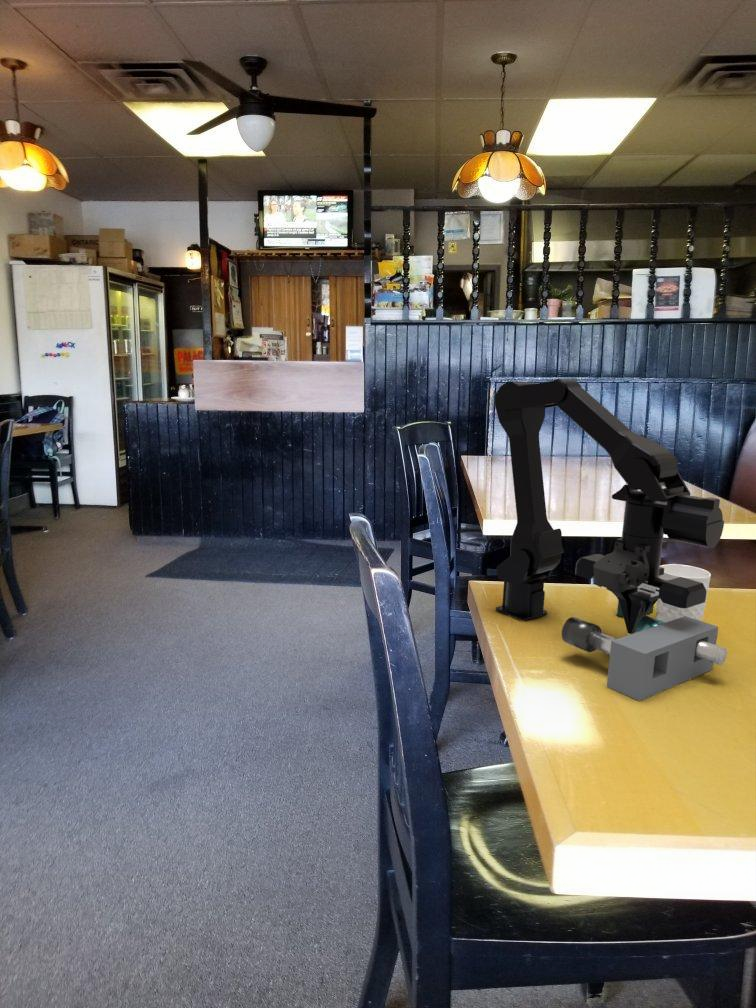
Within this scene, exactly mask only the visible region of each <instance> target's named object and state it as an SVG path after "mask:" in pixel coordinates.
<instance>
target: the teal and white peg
mask: <svg viewBox="0 0 756 1008" xmlns="http://www.w3.org/2000/svg"><path fill="white" fill-rule="evenodd" d="M663 623H666V622H664V621H661V620H658V619H656V617H652V616H649V615H646V616H644V617H643V618H642V619H641V620H640V621H639V623H638V625H637V628H636V632H635V633H637V632H640V631H643V630H646V629H648V628H651V627H654V626H657V625H660V624H663ZM727 655H728V651H727V648H725V647H722V646H719V645H717V644H716V645H714V644H711V643H708V642H706V641H703V640H697V641H696V648H695V656H696V657H699V658H702V659H704V660H707V661H710V662H713V664H716V665H718V666H721V665H723V664H724V663H725V661H726V660H727V659H726V658H727Z"/></svg>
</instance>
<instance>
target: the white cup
mask: <svg viewBox="0 0 756 1008" xmlns="http://www.w3.org/2000/svg"><path fill="white" fill-rule="evenodd" d="M660 567H662V568H664V575H660V576H659V577H658V578H660V579H663V580H667V581H668V580H671V579H675V578H679V577H683V578H686V579H690V580H694V581H697V582H701V583H703V585H704V587H705V589H706V591H707V593H706V600H705V602H704V603H701V604H698V605H695V606H692V607H689V608H678V607H675V606H672V605H669V604H666V603H663V602H662V600H661V599H658V600H657V602H656V603H655V605H656V606H655V607H656V614H655V615H656V616H655V619H658V620H661V621H664V622H669V621H672V620H675V619H678V618H681V617H684V616H687V617H690V618H693V619H696V620H699V621H702V620H703V616H704V613H705V607H706V604H707V599H708V592H709V587H710V582H711V576H712V574H711V573H710V572H709V570H706V569H703V568H700V567H698V566H697V567H696V566H693V565H685V564H679V563H678V564H677V563H671V564H670V563H668V564H662V565H661V564H660ZM702 622H703V621H702Z"/></svg>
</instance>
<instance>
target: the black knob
mask: <svg viewBox="0 0 756 1008" xmlns="http://www.w3.org/2000/svg"><path fill="white" fill-rule="evenodd" d="M561 639H562V641H563V642H564V643H565V644H568V645H570V646H573V647H575V648H577V649H580V650H582V651H585V652H587V653H593V652H594V651H596V650H598V651H600V652H602V653H605V654H607V655H609V656H610V650H611V641H613V640H616V639H617V638H615V637H613V636H611V635H608V634H605V633H603V632H602V628H601V627H600V626H599V625H598V624H595V623H592V622H590V621H589V622H588V621H586V620H584V619H582V618H581V619H580V618H578V617H575V616H571V617H569V618H568V619H567V620H566V621H565V622H564V624H563V626H562V629H561Z"/></svg>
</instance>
